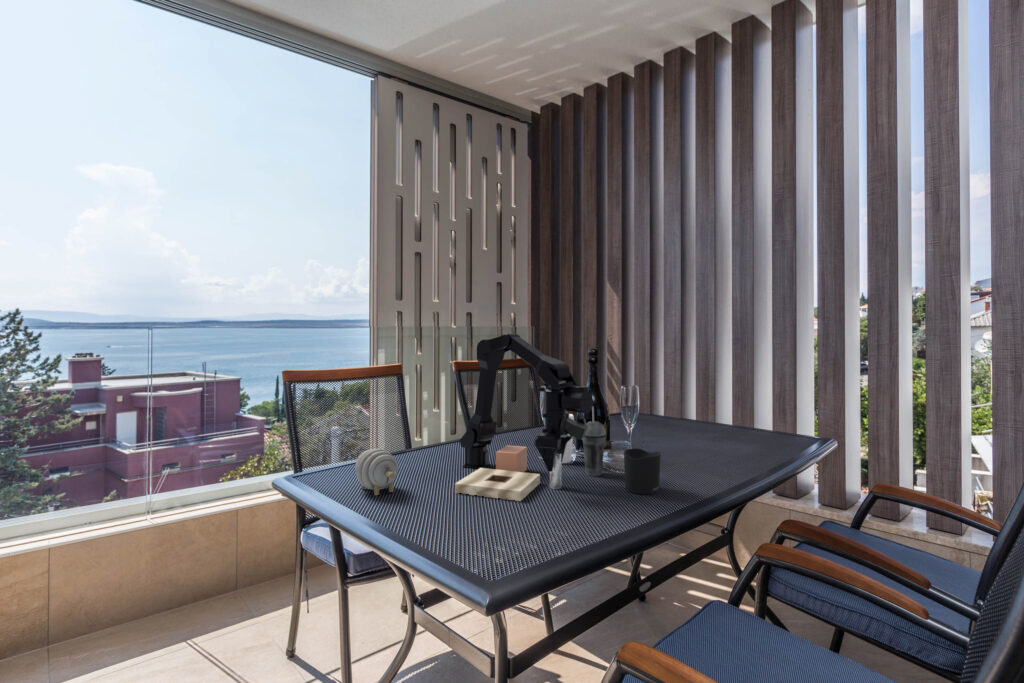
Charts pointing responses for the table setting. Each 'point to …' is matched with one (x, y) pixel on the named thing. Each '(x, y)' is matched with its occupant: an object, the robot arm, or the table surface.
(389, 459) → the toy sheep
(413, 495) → the table surface
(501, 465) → the block
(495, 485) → the pin board
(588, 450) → the beverage cup
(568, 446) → the drinking glass
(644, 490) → the pen holder
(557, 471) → the steel pin
